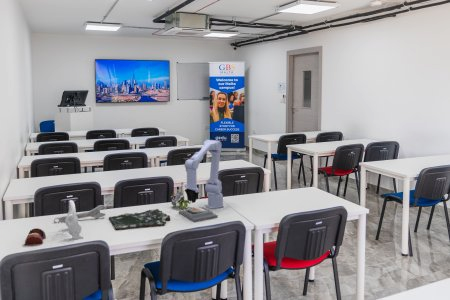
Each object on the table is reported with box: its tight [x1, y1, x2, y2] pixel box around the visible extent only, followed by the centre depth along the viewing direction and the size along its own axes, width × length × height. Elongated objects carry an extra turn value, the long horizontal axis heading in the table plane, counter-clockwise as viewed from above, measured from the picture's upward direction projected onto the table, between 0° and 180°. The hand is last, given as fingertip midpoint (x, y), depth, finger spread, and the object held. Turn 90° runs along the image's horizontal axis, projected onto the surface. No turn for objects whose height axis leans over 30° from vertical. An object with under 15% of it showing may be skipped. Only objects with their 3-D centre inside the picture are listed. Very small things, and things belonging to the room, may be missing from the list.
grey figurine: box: [64, 199, 84, 240], centre depth 218 cm, size 20×7×18 cm, turn 26°
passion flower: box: [170, 190, 192, 211], centre depth 267 cm, size 13×12×14 cm
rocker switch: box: [187, 206, 208, 213], centre depth 251 cm, size 10×7×2 cm
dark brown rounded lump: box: [24, 227, 47, 246], centre depth 208 cm, size 8×6×12 cm
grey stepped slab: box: [178, 206, 219, 223], centre depth 251 cm, size 16×20×4 cm
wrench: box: [53, 204, 107, 224], centre depth 241 cm, size 8×2×30 cm
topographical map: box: [108, 208, 171, 231], centre depth 240 cm, size 26×33×3 cm
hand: (191, 201), depth 248 cm, fingers open, 4 cm apart
